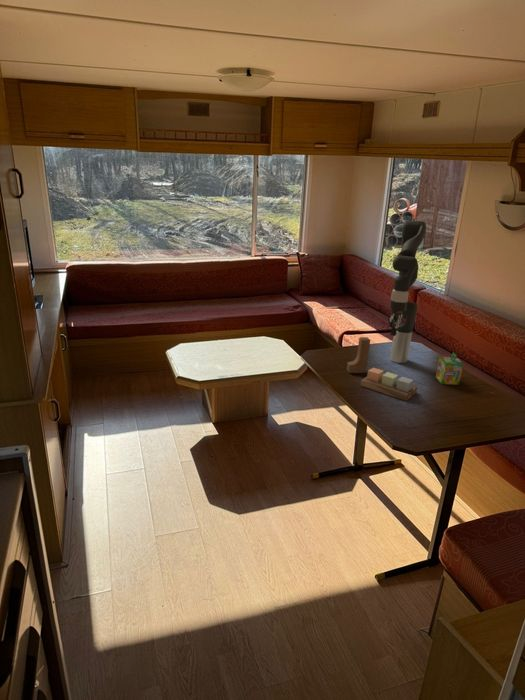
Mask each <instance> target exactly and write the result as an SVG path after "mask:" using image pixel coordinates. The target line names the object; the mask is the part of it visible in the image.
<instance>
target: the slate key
mask: <svg viewBox="0 0 525 700" xmlns="http://www.w3.org/2000/svg"><path fill="white" fill-rule="evenodd" d="M412 386H414V379H412V378H409V377H405V376H401V377H399V378H398V380H397V386H396V389H399V390H402V391H405V392H409V391H411V390H412Z"/></svg>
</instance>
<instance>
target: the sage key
mask: <svg viewBox="0 0 525 700" xmlns="http://www.w3.org/2000/svg"><path fill="white" fill-rule="evenodd" d="M398 379H399V374H396V373H392V372H389V371H386V372H385V373H383V375H382V382H381V384H383V385H386V386H389V387H394V386H396V385H397V380H398Z"/></svg>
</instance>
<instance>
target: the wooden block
mask: <svg viewBox="0 0 525 700" xmlns="http://www.w3.org/2000/svg"><path fill="white" fill-rule="evenodd" d="M357 344H358V345H357V353H356V357H355V358H354V360H352V361H347V366H346V371H347V372H348V374H366V373H367V367H368V366H367V365H368V359H369V353H370V344H371V339H370V338H369V337H367V336H366V337H364V336H363V337H362V336H361V337H360V336H359V339H358V343H357Z"/></svg>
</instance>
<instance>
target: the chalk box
mask: <svg viewBox="0 0 525 700" xmlns="http://www.w3.org/2000/svg"><path fill="white" fill-rule="evenodd" d="M438 359H439V360H438V365H437V368H436V371H435V372H436V373H435V376H434V377H435V378H436V379H437V381H438V382H439V383H440V384H441V385H451V386H452V385H453V386H460V382H461V379H462V378H461V377H462V374H463V373H462V372H463V369H464V363H463V361H461V359H460V358H458V355H457V354H456V353H455V352H452V353H451V355H450V356H439V357H438Z"/></svg>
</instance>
